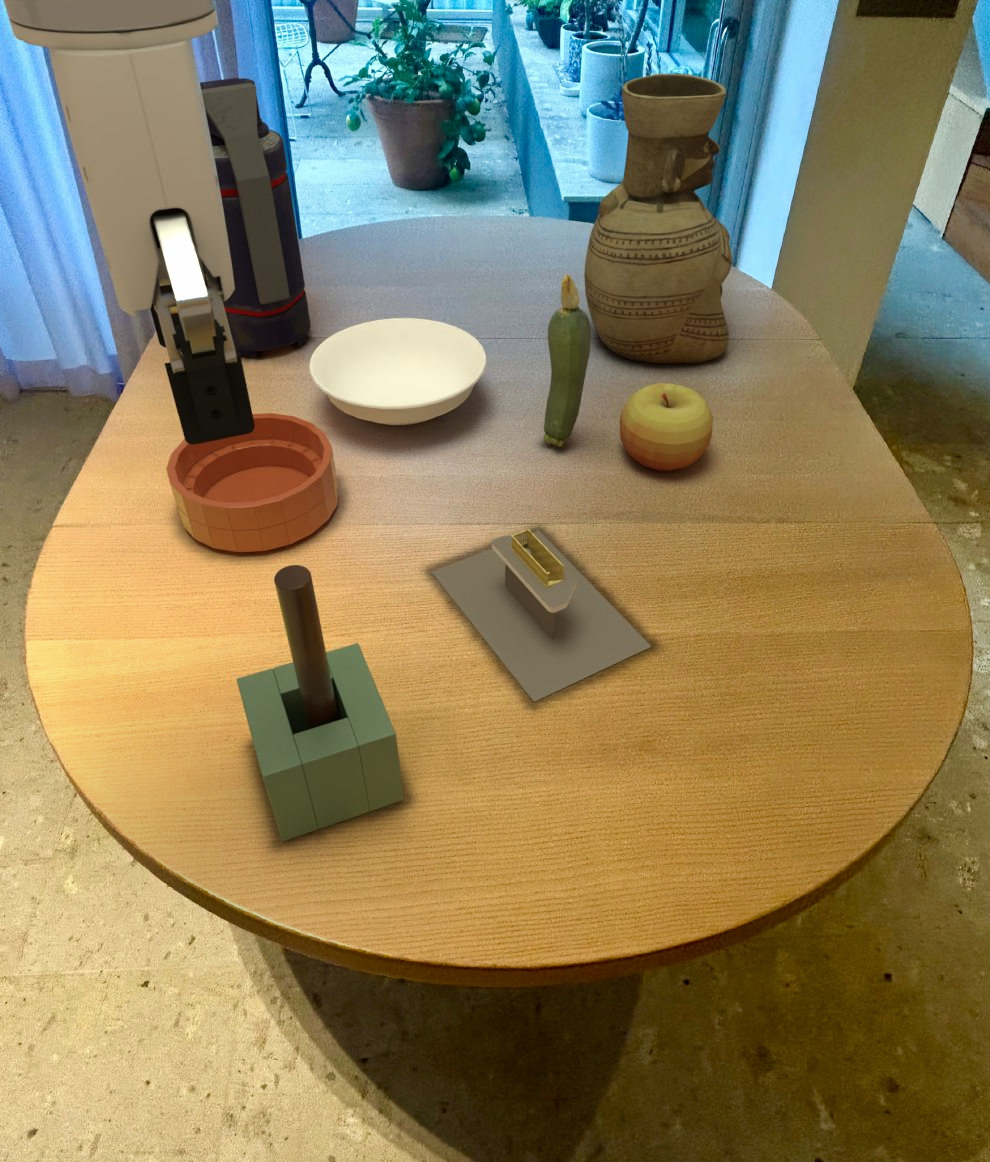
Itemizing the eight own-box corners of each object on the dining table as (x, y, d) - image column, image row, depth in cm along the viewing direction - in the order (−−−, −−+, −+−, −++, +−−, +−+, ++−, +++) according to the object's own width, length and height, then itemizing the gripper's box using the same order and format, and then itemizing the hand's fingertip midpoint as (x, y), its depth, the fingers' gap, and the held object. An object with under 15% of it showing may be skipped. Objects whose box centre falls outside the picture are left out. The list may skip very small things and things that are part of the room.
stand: (282, 842, 62) (262, 777, 57) (256, 745, 69) (236, 678, 63) (404, 800, 65) (395, 733, 60) (368, 710, 71) (358, 642, 66)
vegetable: (561, 429, 100) (572, 256, 87) (590, 445, 98) (606, 270, 84) (534, 445, 98) (541, 270, 84) (563, 461, 96) (575, 284, 82)
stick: (322, 786, 66) (278, 593, 52) (315, 763, 67) (270, 569, 54) (351, 777, 66) (314, 583, 53) (343, 754, 68) (306, 560, 54)
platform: (538, 530, 87) (541, 476, 83) (651, 646, 76) (661, 591, 72) (431, 572, 83) (427, 517, 78) (533, 701, 72) (536, 647, 67)
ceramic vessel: (747, 318, 120) (799, 69, 99) (703, 393, 106) (754, 122, 85) (614, 291, 126) (638, 51, 105) (556, 358, 112) (570, 97, 91)
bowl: (518, 426, 101) (519, 376, 96) (356, 477, 94) (349, 426, 89) (440, 350, 113) (438, 303, 109) (292, 390, 106) (283, 341, 102)
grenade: (208, 329, 117) (148, 76, 97) (293, 308, 122) (253, 62, 101) (240, 376, 109) (182, 108, 88) (331, 352, 113) (296, 92, 92)
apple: (599, 463, 96) (605, 398, 90) (641, 421, 102) (649, 358, 96) (682, 494, 92) (694, 429, 86) (721, 449, 97) (734, 385, 92)
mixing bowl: (195, 573, 83) (179, 524, 79) (172, 480, 93) (157, 432, 89) (357, 532, 87) (350, 483, 83) (317, 448, 98) (309, 401, 93)
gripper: (-1, -49, 38) (112, 323, 50) (-1, 43, 26) (146, 500, 38) (179, -57, 40) (247, 301, 52) (253, 25, 28) (318, 463, 40)
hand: (204, 385), depth 45 cm, fingers open, 9 cm apart
